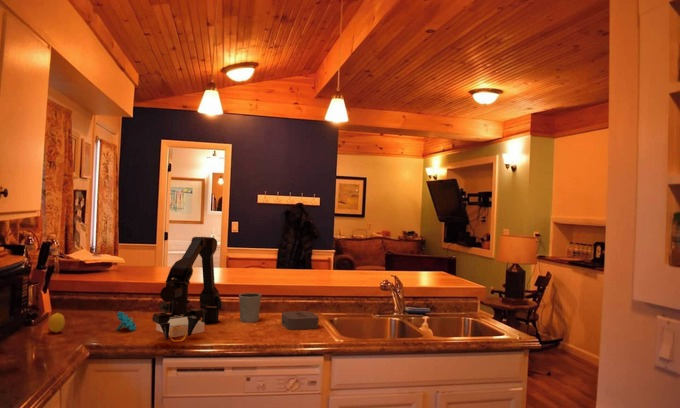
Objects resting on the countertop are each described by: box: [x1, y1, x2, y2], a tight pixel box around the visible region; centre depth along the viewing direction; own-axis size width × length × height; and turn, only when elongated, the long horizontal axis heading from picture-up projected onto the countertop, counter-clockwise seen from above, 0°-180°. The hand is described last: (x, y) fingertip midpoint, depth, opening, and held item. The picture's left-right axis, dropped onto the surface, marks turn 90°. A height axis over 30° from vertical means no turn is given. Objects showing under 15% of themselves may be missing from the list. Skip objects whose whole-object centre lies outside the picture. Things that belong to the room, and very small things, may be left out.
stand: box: [155, 317, 206, 338], centre depth 199 cm, size 14×14×4 cm
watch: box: [169, 325, 187, 343], centre depth 184 cm, size 6×3×6 cm, turn 114°
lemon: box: [47, 312, 66, 334], centre depth 188 cm, size 6×6×8 cm
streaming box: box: [280, 310, 319, 331], centre depth 218 cm, size 14×14×5 cm
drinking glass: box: [238, 292, 262, 324], centre depth 223 cm, size 10×10×12 cm
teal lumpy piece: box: [116, 311, 137, 332], centre depth 197 cm, size 11×6×10 cm
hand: (177, 337), depth 184 cm, fingers open, 9 cm apart
